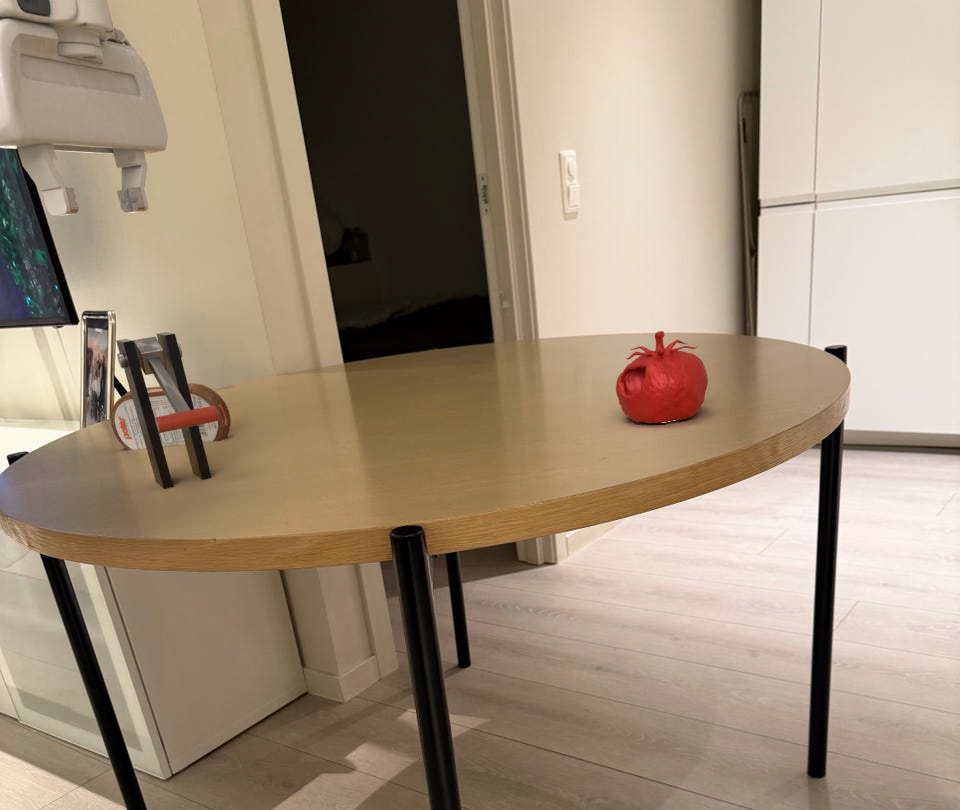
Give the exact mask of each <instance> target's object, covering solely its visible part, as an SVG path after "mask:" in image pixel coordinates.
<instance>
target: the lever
mask: <svg viewBox="0 0 960 810" xmlns="http://www.w3.org/2000/svg"><path fill="white" fill-rule="evenodd" d="M132 341H134V344H135V348H136V351H137V355H138V359H139V362H140V366H141V370H142V373H143V375H144V376H149V375H153V376H154V378H155V379H156V381H157V383H158V384H159V386H160V387H161V388H162V390H163V392H164V394H165V395H166V397H167V399H168V400H169V402H170V404H171V406H172V407H173V409H174V411H175V413H174V414H169V415H164V416H159V417H156V418H155V422H156V426H157V429H158V431H159V432H160V433H163V432H168V431H173V430H177V429H182V428H187V427H192V426H197V425H201V424H206V423H211V422H216V421H219V415H218V411H217V408H216V407H215V406H209V407H204V408H199V409H194V410H190V409H189V407H188V405H187V404H186V402H185V400H184V399H183V397H182V395H181V393H180V392H179V390H178V388H177V387H176V385H175V383H174V382H173V380H172V378H171V377H170V375H169V373H168V372H167V367H166V362H165V356H164V350H163V348H162V347H161V345H160V343H159V342H158V338H157V336H150V337H149V336H148V337H143V338H137V339H132Z"/></svg>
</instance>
